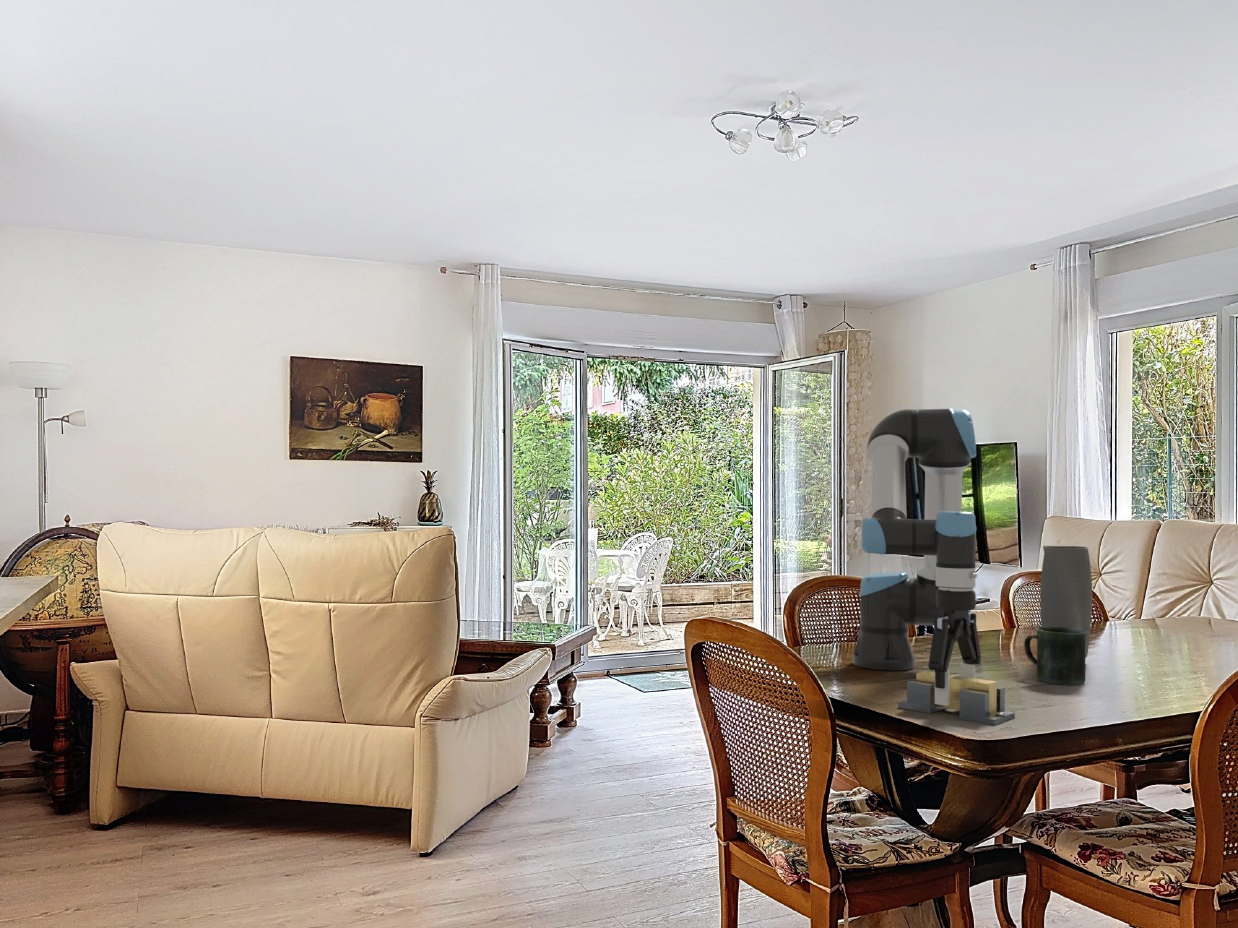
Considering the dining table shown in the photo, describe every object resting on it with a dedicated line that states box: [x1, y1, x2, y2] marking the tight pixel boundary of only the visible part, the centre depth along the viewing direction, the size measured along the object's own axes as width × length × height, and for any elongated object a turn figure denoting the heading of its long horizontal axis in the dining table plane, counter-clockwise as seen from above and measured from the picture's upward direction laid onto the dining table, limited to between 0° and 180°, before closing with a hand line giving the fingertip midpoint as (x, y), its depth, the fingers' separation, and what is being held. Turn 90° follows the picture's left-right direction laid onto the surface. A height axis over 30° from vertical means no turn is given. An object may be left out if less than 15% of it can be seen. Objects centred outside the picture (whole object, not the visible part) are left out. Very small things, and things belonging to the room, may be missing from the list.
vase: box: [1039, 545, 1093, 659], centre depth 254 cm, size 12×12×30 cm
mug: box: [1023, 626, 1087, 686], centre depth 229 cm, size 11×15×12 cm
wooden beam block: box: [915, 670, 998, 715], centre depth 194 cm, size 15×4×6 cm, turn 45°
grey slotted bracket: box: [897, 680, 947, 715], centre depth 198 cm, size 7×9×6 cm
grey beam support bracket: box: [958, 686, 1016, 726], centre depth 189 cm, size 7×9×6 cm
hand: (955, 700), depth 194 cm, fingers open, 10 cm apart
